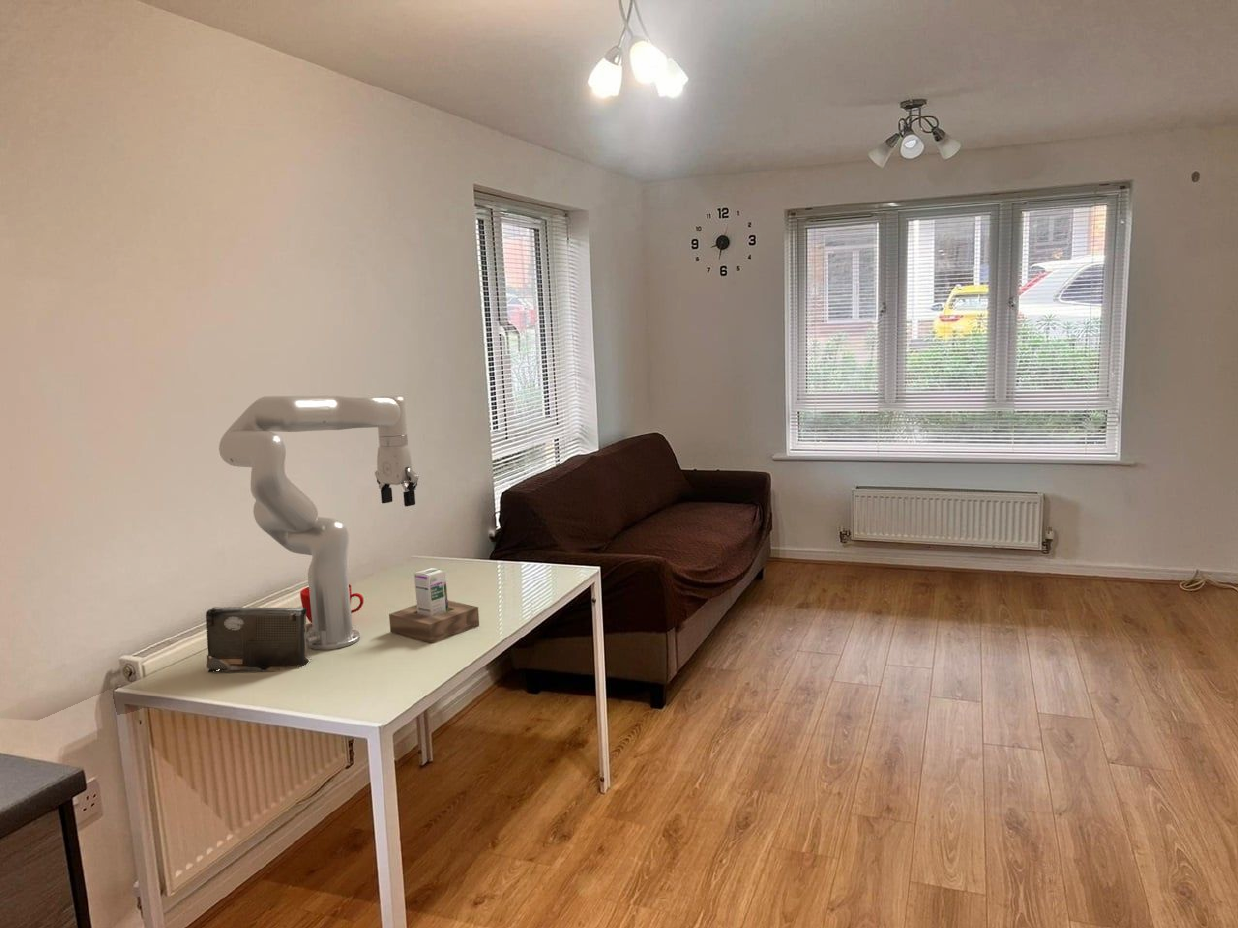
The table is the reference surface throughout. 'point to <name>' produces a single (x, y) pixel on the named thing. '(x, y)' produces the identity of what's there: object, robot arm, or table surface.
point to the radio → (255, 639)
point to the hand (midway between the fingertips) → (398, 504)
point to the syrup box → (431, 592)
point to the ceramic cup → (306, 604)
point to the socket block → (434, 622)
